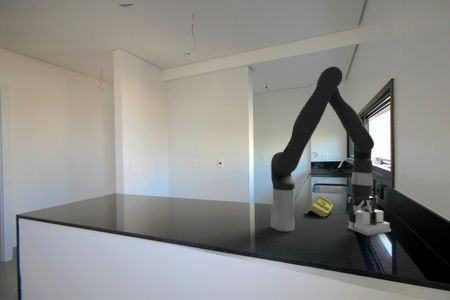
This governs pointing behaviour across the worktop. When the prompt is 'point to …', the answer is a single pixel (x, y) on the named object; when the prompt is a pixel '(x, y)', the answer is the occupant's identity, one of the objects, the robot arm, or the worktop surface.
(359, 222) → the block
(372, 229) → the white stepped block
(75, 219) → the worktop surface
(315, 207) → the plastic component
